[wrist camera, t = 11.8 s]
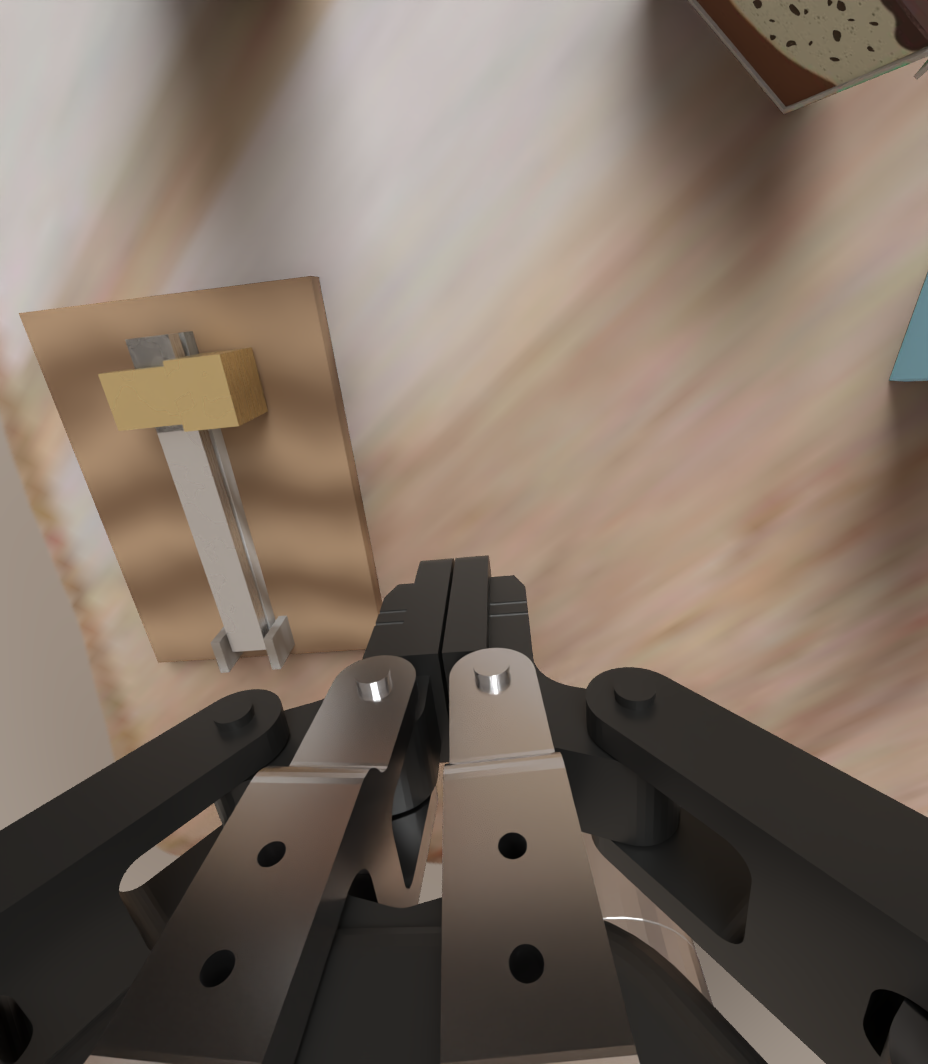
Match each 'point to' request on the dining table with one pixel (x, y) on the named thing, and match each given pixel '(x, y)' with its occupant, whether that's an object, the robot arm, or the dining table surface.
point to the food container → (818, 42)
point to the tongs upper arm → (208, 511)
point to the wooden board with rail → (225, 469)
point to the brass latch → (188, 392)
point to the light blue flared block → (914, 344)
